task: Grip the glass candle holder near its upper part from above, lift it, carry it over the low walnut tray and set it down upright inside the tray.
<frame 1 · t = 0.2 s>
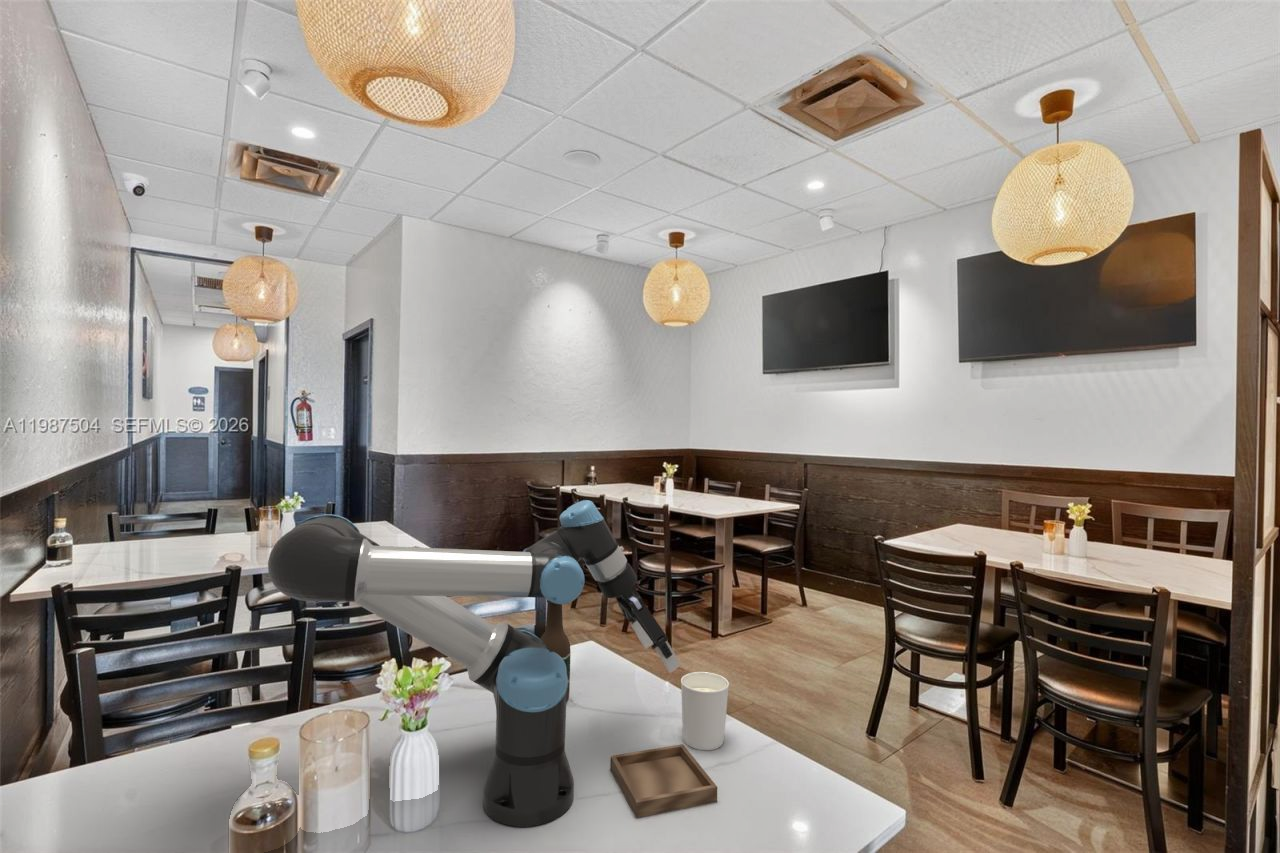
hand: (662, 656, 124), 16 cm above the table, tool tilted 30°, fingers open, 13 cm apart
tray: (661, 784, 107), on the table
candle holder: (703, 741, 123), on the table
beer bottle: (552, 701, 138), on the table
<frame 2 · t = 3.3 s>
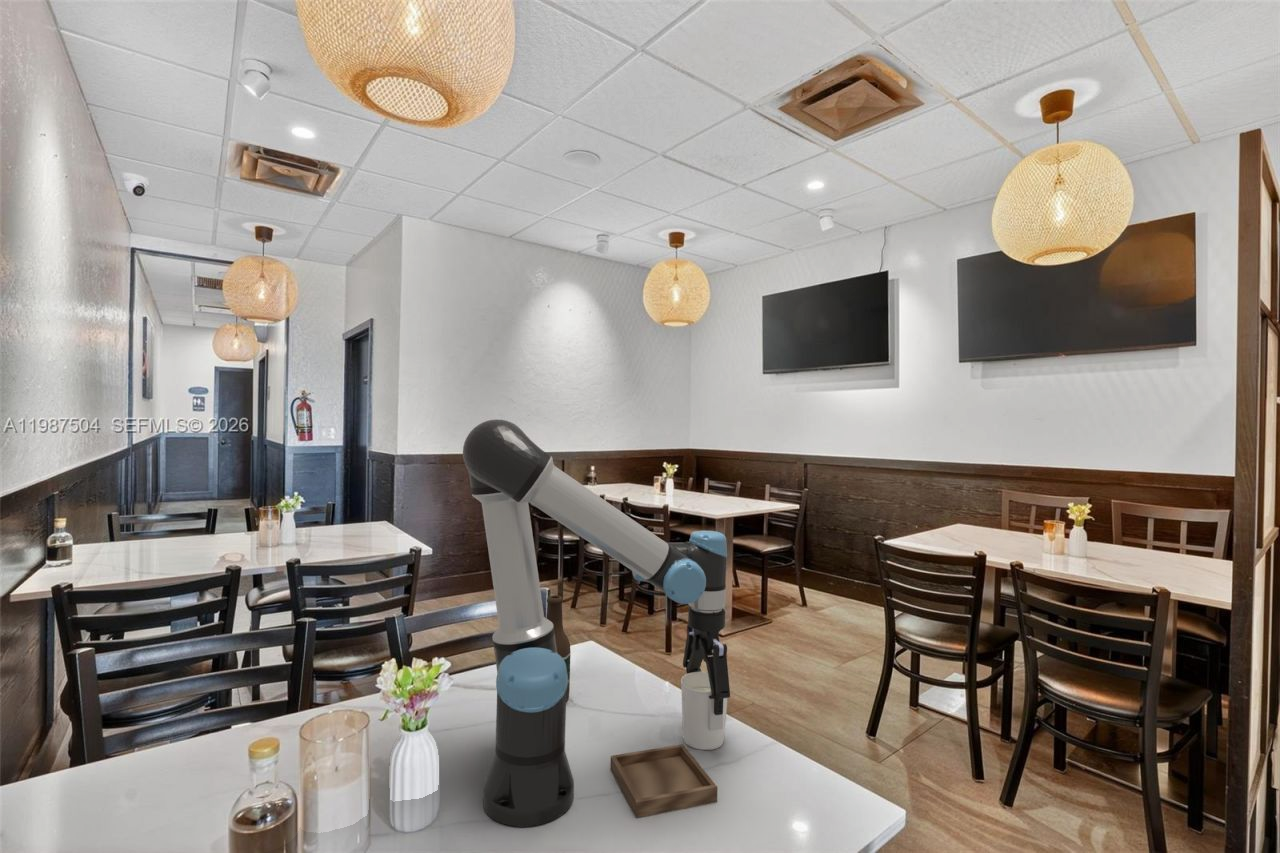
hand: (704, 716, 123), 5 cm above the table, tool pointing down, fingers closed on candle holder, 10 cm apart
candle holder: (703, 740, 123), on the table, touching gripper
everything else where it was.
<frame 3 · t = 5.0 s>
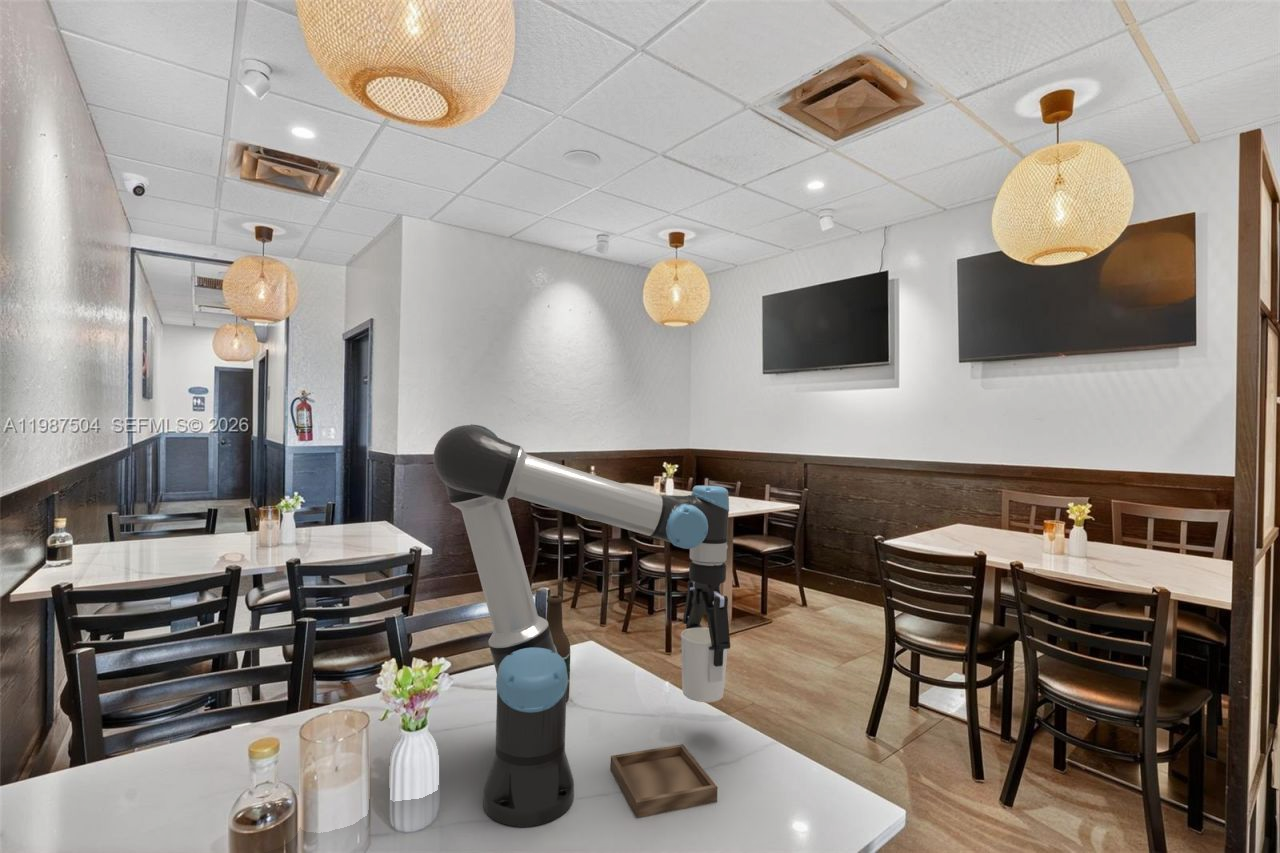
hand: (703, 670, 123), 14 cm above the table, tool pointing down, fingers closed on candle holder, 10 cm apart
candle holder: (702, 694, 123), point 9 cm above the table, touching gripper
everything else where it was.
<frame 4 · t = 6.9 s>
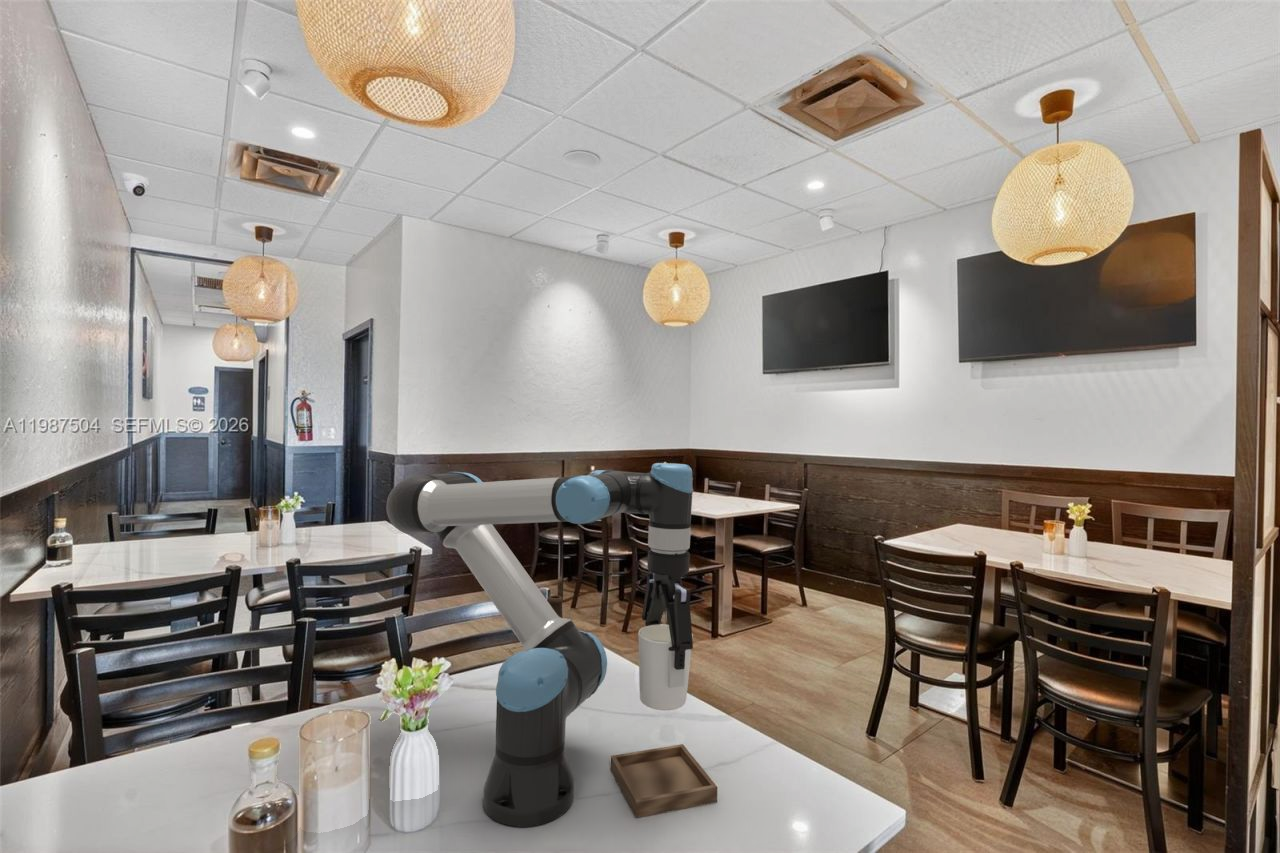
hand: (663, 674, 107), 19 cm above the table, tool pointing down, fingers closed on candle holder, 10 cm apart
candle holder: (662, 701, 107), point 15 cm above the table, touching gripper
everything else where it was.
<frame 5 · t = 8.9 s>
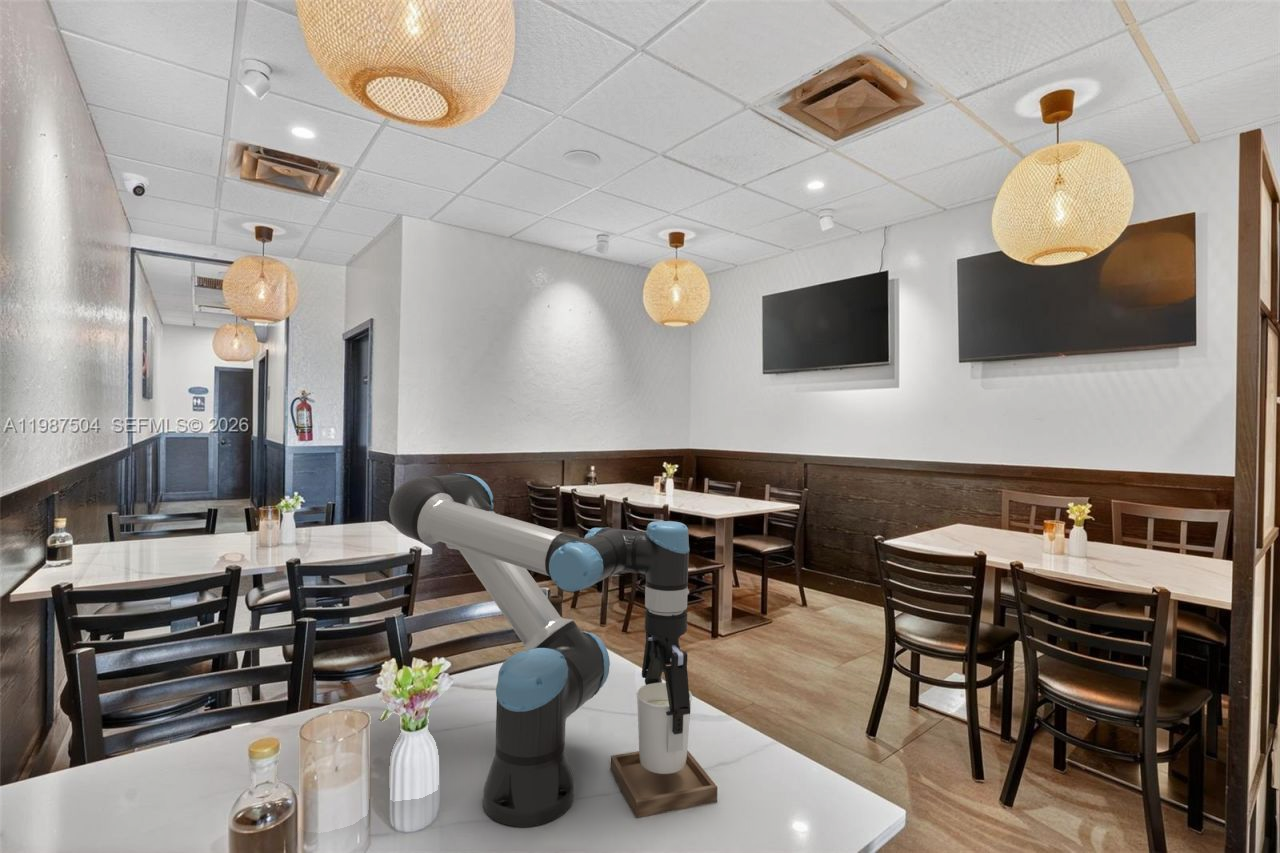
hand: (663, 735, 107), 9 cm above the table, tool pointing down, fingers closed on candle holder, 10 cm apart
candle holder: (662, 762, 107), point 4 cm above the table, touching gripper
everything else where it was.
when the fingers open (6 cm above the table, at t = 10.5 s): candle holder stays where it is, resting on tray.
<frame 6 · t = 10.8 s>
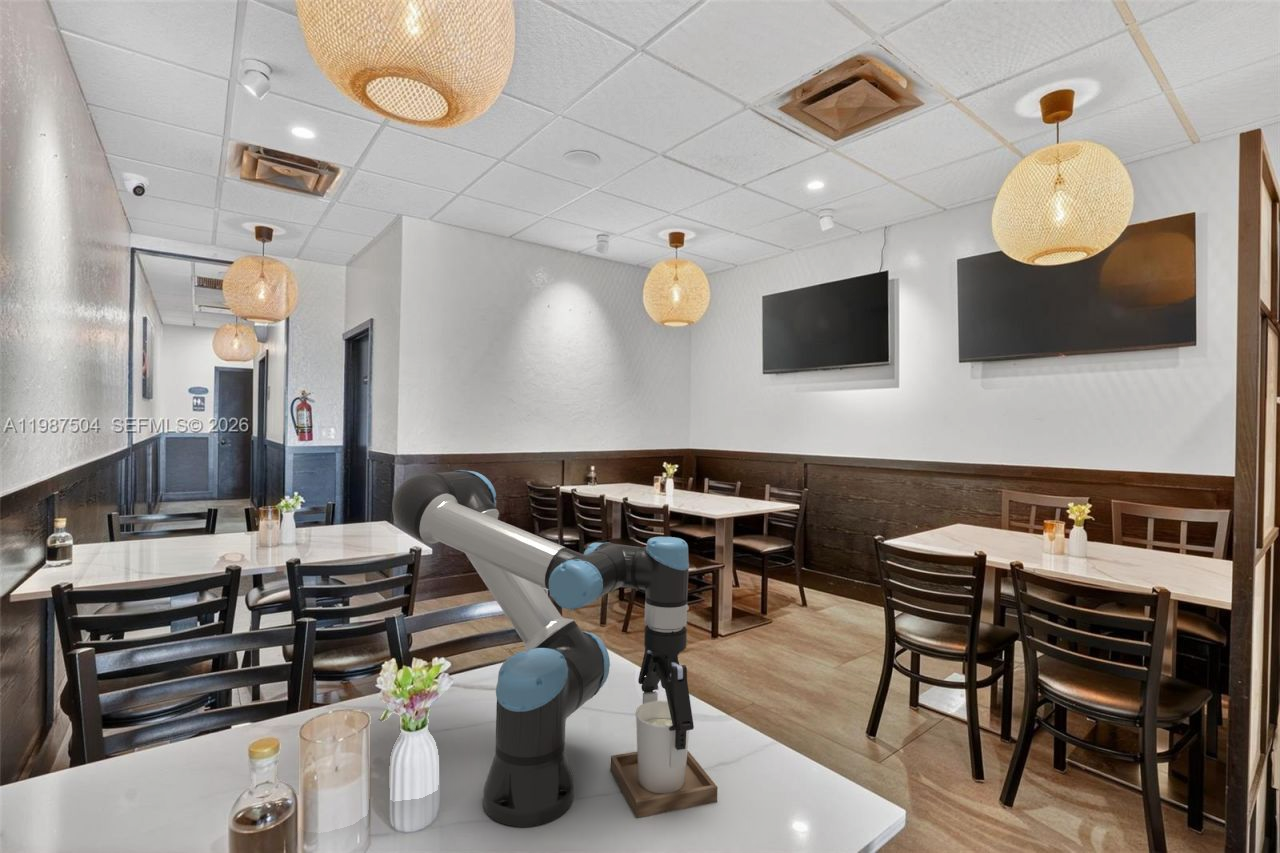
hand: (662, 745, 107), 7 cm above the table, tool pointing down, fingers open, 13 cm apart
candle holder: (661, 781, 107), point 1 cm above the table, touching tray
everything else where it was.
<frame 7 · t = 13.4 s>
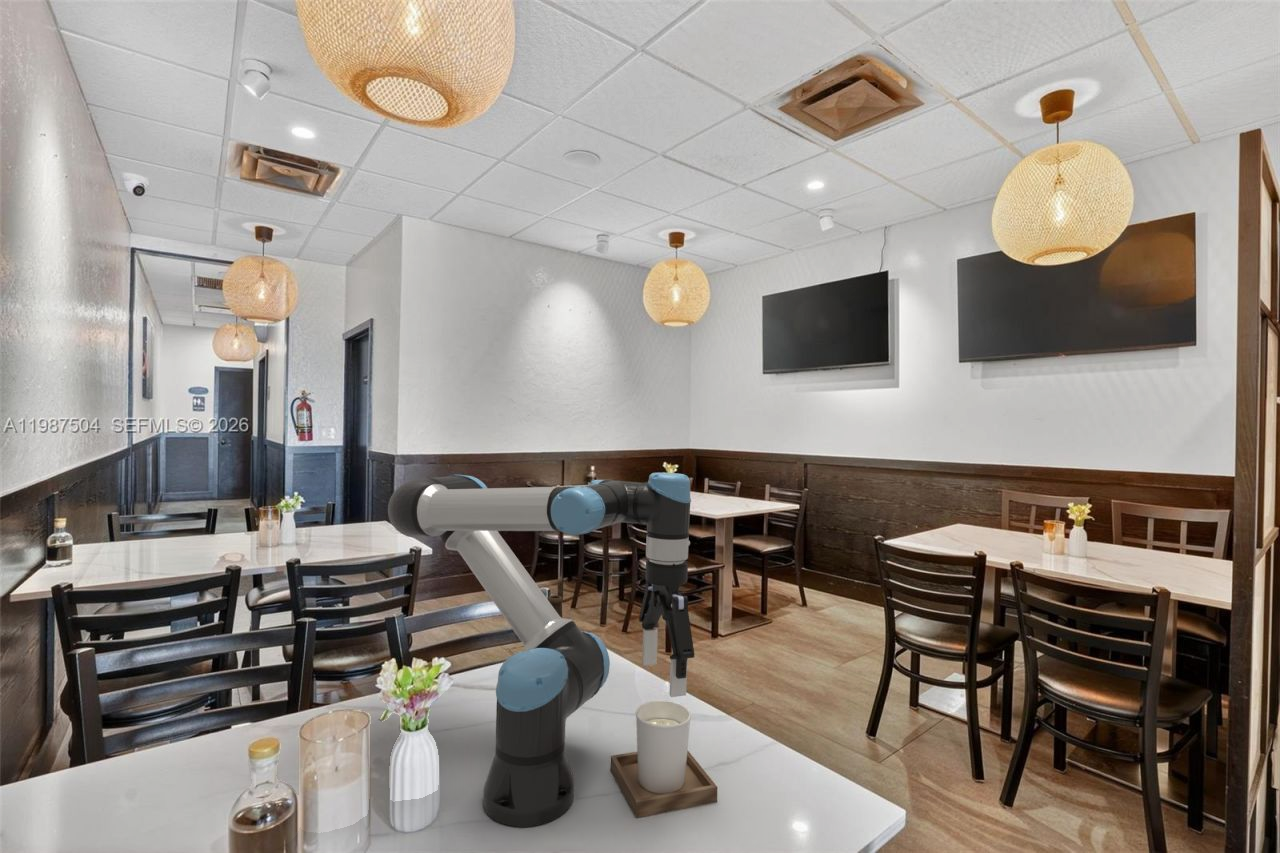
hand: (662, 679, 107), 19 cm above the table, tool pointing down, fingers open, 13 cm apart
nothing on the table moved.
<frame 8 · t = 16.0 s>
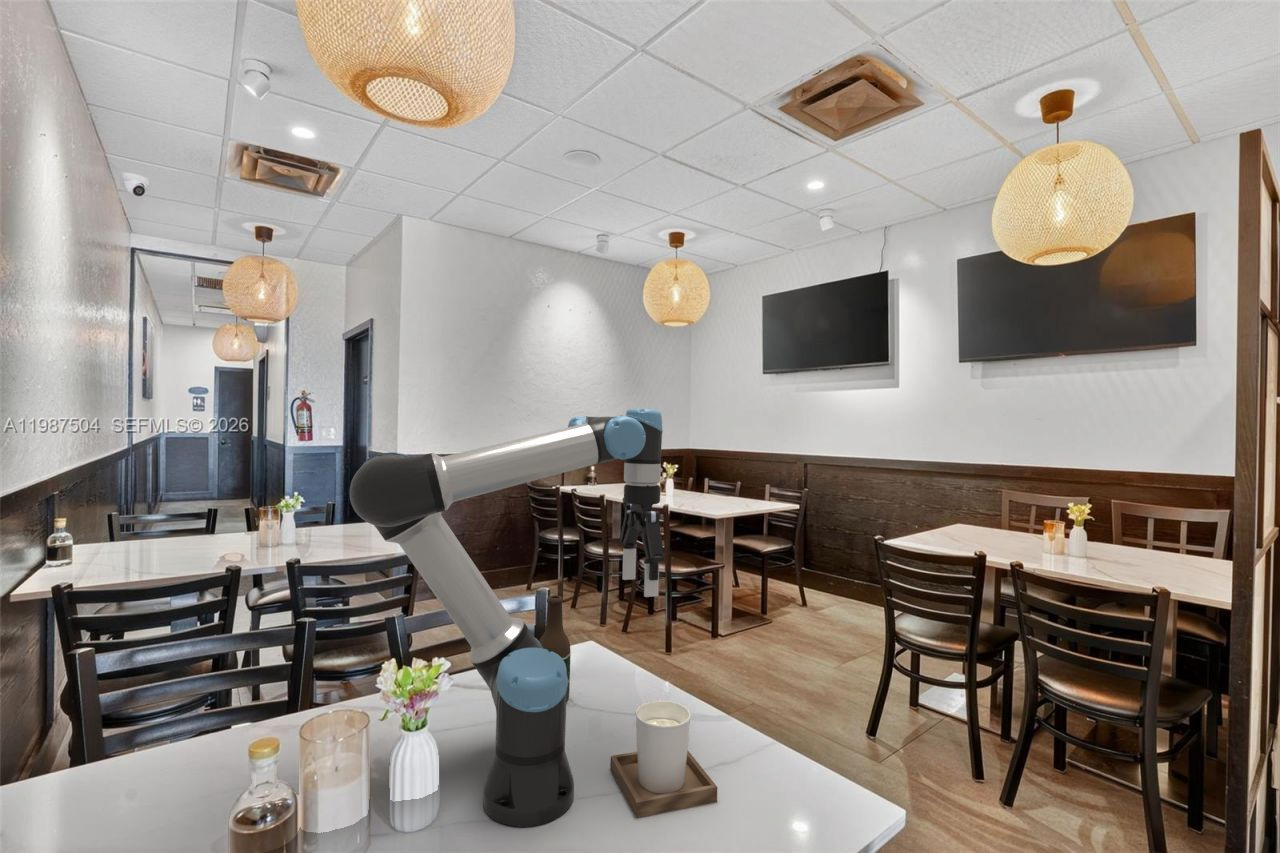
hand: (639, 587, 123), 31 cm above the table, tool pointing down, fingers open, 13 cm apart
nothing on the table moved.
at the end: candle holder 0.0 cm off-centre on the tray, point 0.6 cm above the tray's base; candle holder tilted 0°; the gripper is holding nothing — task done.
